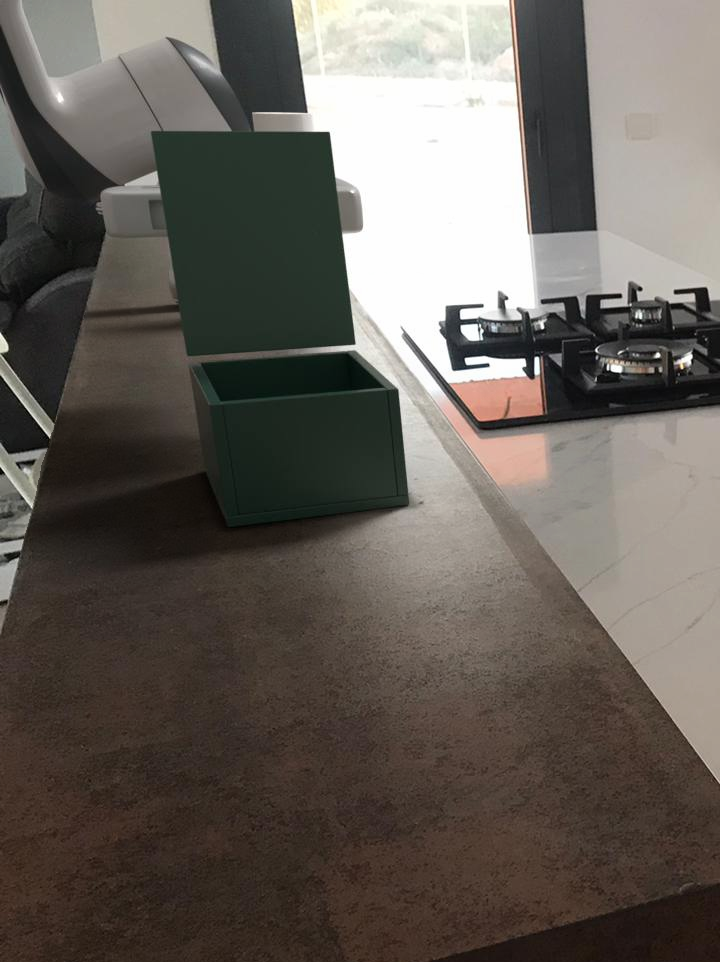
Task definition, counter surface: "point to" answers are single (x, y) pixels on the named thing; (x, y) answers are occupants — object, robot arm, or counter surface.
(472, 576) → the counter surface
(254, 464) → the green open box
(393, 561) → the counter surface
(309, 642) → the counter surface
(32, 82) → the robot arm
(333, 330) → the lid
